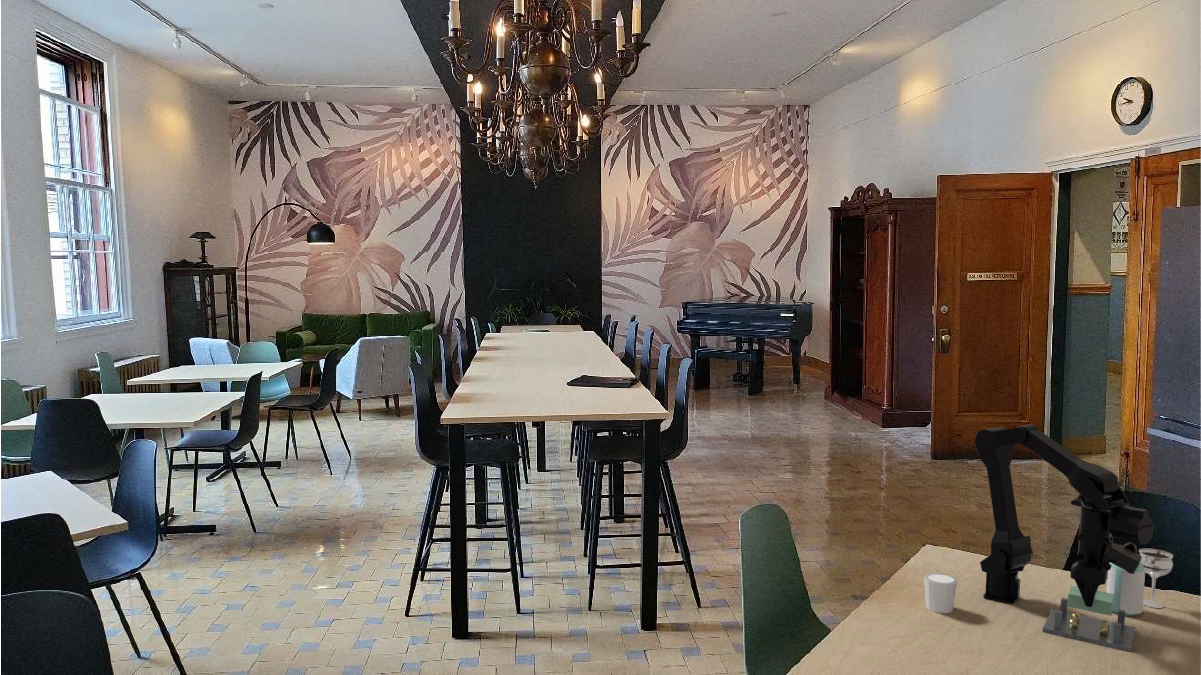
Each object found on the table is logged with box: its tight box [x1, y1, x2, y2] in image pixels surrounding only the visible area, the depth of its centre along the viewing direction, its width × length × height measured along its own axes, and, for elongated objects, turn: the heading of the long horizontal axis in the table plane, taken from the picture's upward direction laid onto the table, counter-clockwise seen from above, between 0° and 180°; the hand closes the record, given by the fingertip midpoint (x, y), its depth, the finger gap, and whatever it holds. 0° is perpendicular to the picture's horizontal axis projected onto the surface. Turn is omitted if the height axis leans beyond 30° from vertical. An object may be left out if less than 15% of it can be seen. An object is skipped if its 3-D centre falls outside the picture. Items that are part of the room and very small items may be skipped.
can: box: [1106, 560, 1146, 617], centre depth 196 cm, size 7×7×12 cm
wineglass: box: [1138, 548, 1174, 608], centre depth 199 cm, size 7×7×12 cm
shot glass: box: [923, 572, 958, 614], centre depth 197 cm, size 7×7×7 cm
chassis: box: [1042, 597, 1137, 652], centre depth 185 cm, size 16×12×4 cm
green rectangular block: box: [1067, 585, 1114, 617], centre depth 185 cm, size 8×6×3 cm
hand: (1090, 602), depth 185 cm, fingers closed on green rectangular block, 5 cm apart
